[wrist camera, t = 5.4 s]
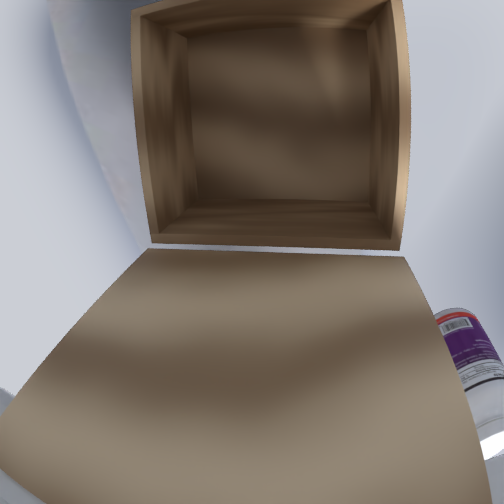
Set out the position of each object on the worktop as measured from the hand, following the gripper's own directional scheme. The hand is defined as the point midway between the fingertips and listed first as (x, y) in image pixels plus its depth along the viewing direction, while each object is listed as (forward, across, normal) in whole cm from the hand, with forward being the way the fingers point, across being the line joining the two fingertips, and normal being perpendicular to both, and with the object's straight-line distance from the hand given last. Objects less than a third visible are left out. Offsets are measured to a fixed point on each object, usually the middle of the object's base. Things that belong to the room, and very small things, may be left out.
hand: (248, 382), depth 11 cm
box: (+15, 0, -10) cm, 18 cm away
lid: (0, 0, -2) cm, 2 cm away
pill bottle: (+15, -17, +10) cm, 25 cm away
